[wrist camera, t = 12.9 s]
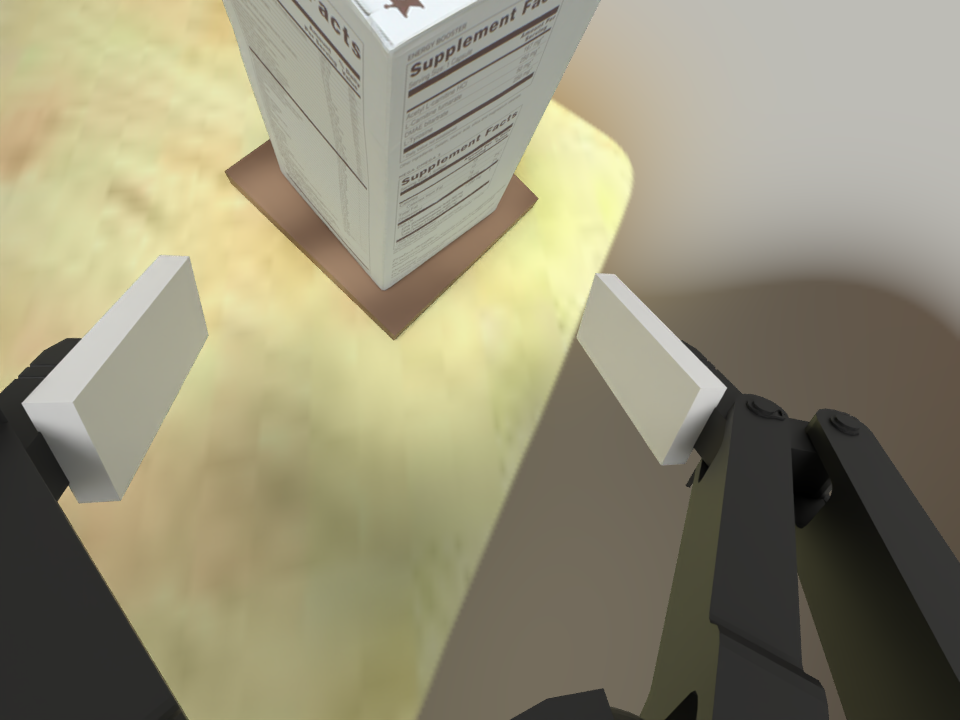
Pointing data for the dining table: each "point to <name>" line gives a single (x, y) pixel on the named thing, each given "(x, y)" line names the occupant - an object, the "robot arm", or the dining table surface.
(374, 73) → the supplement box
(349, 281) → the walnut board
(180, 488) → the dining table surface
